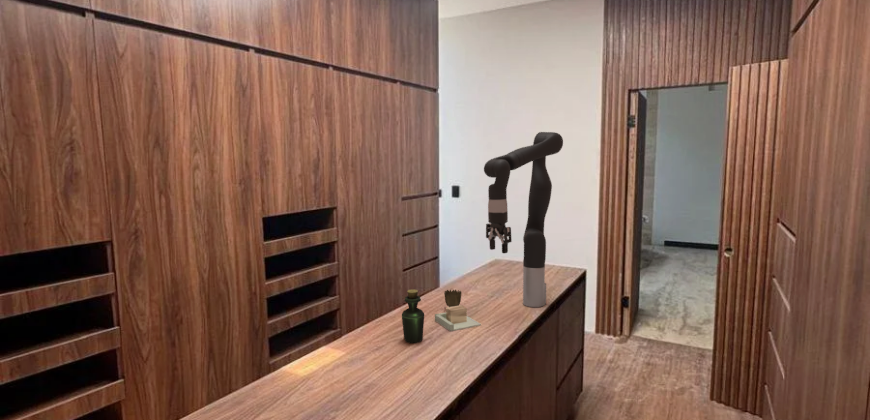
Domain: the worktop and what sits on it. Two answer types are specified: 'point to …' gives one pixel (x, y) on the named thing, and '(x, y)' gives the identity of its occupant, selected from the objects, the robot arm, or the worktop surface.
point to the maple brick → (456, 314)
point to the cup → (452, 298)
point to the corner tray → (452, 327)
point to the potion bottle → (413, 319)
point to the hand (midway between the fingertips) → (498, 251)
